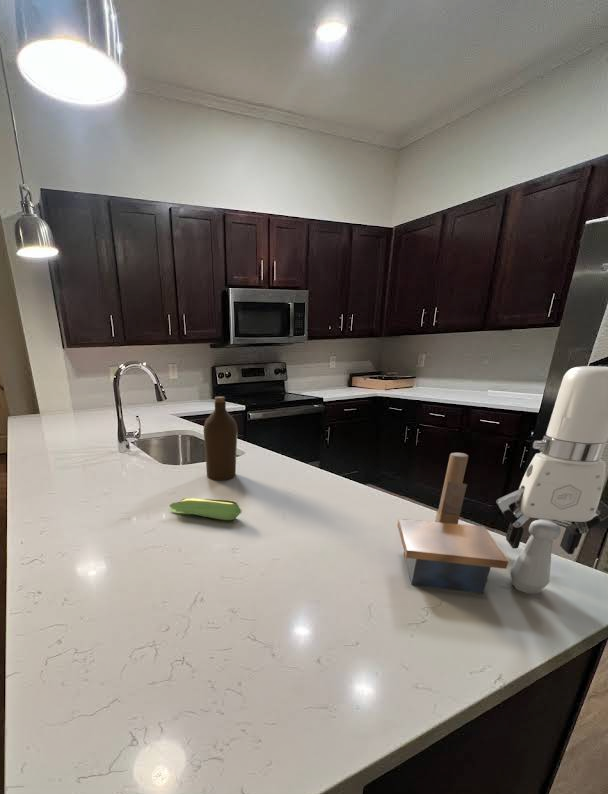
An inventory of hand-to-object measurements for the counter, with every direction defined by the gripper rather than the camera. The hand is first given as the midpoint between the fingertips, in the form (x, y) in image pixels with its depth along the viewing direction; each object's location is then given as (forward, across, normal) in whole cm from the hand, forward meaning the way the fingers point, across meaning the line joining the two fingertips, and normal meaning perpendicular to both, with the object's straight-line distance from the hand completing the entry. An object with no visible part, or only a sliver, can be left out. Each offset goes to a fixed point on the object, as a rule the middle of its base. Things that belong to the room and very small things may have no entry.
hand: (538, 547), depth 73 cm
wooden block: (+9, -10, +20) cm, 24 cm away
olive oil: (+9, -71, +49) cm, 87 cm away
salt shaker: (+8, 0, 0) cm, 8 cm away
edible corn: (+9, -67, +17) cm, 70 cm away
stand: (+8, -14, +2) cm, 16 cm away
